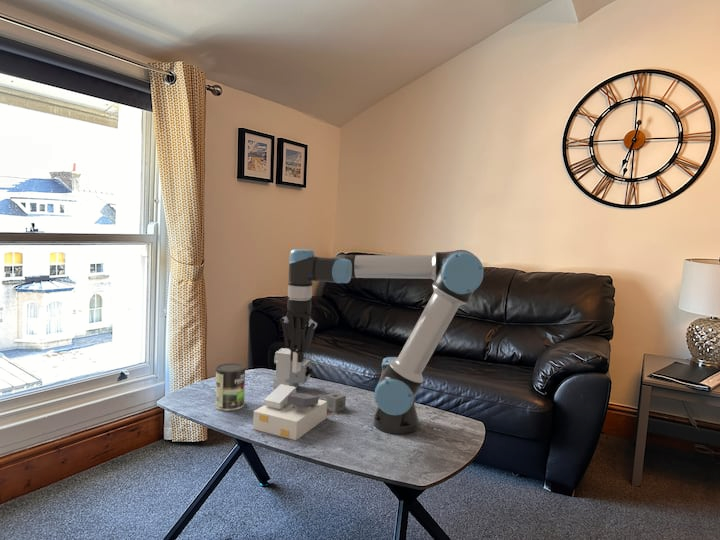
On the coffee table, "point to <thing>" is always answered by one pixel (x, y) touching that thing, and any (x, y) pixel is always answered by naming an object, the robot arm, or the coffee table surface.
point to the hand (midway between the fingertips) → (296, 371)
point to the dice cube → (335, 402)
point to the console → (289, 419)
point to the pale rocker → (279, 396)
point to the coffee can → (230, 386)
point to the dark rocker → (303, 399)
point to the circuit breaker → (289, 370)
